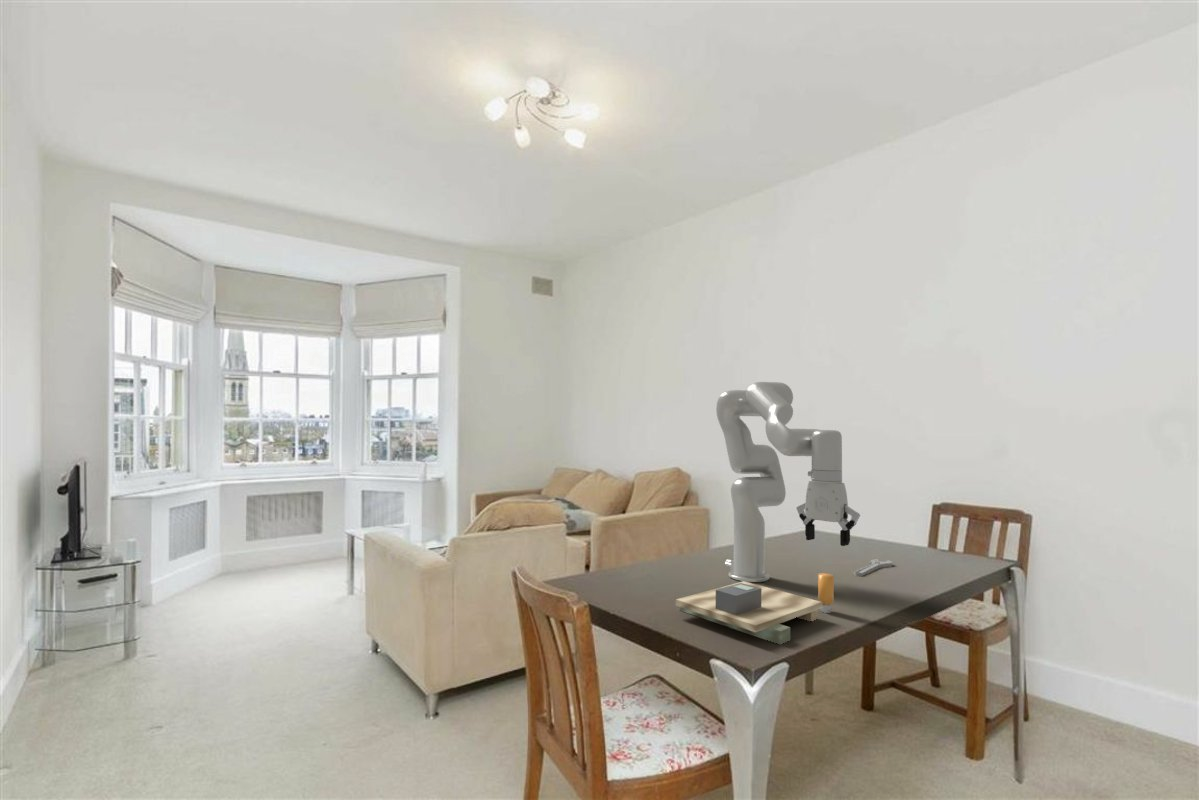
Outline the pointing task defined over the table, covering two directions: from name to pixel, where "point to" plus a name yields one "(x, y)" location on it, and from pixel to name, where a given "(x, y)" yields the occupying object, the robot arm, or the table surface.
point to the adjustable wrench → (872, 567)
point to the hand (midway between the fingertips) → (827, 542)
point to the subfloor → (755, 612)
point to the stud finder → (738, 598)
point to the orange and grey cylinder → (826, 591)
